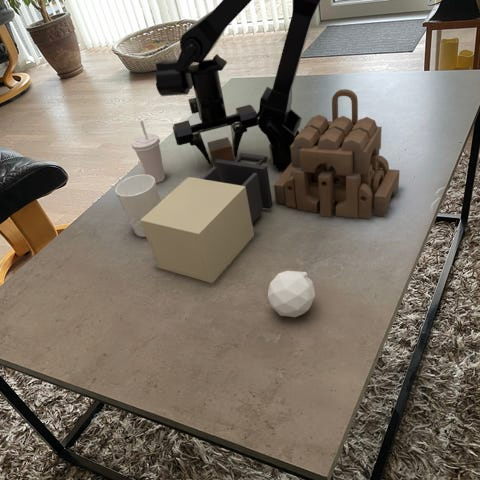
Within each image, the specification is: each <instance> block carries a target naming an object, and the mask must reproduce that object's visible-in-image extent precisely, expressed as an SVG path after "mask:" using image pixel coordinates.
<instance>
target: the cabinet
mask: <svg viewBox="0 0 480 480" xmlns="http://www.w3.org/2000/svg"><path fill="white" fill-rule="evenodd" d="M140 221H141V224H142V227H143V229H144V232H145V235H146V237H145V238H146V240H147V243H148V245H149V248H150V250H151V253H152V256H153V259H154V261H155V263H156V267H157V268H159V269H161V270H165V271H168V272H171V273H175V274H178V275H182V276H185V277H189V278H193V279H195V280H199V281H203V282H205V283H210V284H214V282H216V280H217V279H218V278H219V277H220V276H221V274H222V273H223V272H224V271H225V270H226V269H227V267H228V266H229V265H230V264H231V263H232V262H233V260H234V259H236V257H237V256H238V255H239V254H240V253H241V252H242V250H243V249H244V248H245V247H246V246H247V245H248V243H249V242H250V241H251V240H253V238H254V237H255V232H254V226H253V223H252V221H251V215H250V210H249V204H248V198H247V193H246V187H245V186H240V185H234V184H228V183H222V182H216V181H210V180H204V179H201V178H197V177H192V176H188V177H186V179H184V180H183V181H182V182H180V184H179V185H178V186H176V188H174V189H173V190H172V191H171V192H170V193H169V194H167V196H165V197H164V198H163V199H162V200H161V202H160V203H159V204H158V205H157V206H155V207H154V208H153V209H152V210H151V211H150V212H149V213H148V214H146V215H145V216H144V217H143V218H142V219H141V220H140Z"/></svg>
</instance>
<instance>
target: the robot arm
mask: <svg viewBox="0 0 480 480" xmlns="http://www.w3.org/2000/svg"><path fill="white" fill-rule="evenodd" d="M252 1H253V0H222V1H220V3H219V4H218V5H217V6H216V7H215V8H213V10H211V11H210V12H208V13H207V14H205V15H204V16H202V17H201V18H199V19H198V20H196V21H195V22H194V23H193V24H192V25H191V26H190V27H189V28H188V29H187V30H186V31H185V32H184V33H183V34H182V35H181V37H180V39H179V45H180V46H179V48H180V53H179V56H178V58H177V59H172V60H166V59H160V60H159V61H157V63H156V64H155V67H156V72H155V82H156V83H155V87H156V90H157V93H158V95H160V96H161V97H171V96H173V97H174V96H186V95H189V93H190V90H192V89H193V91H194V96H195V97H192V98H188V104H189V108H190V112H191V114H192V115H195V114H198V117H199V121H201V122H200V123H195V124H191V123H190V121H189V119H187V120H184V121H181V122H177V123H176V122H175V123H174V124H173V126H172V131H173V135H174V139H175V143H176V145H177V146H184V145H187V144H189V145H190V146H191V147H193V146H195V147H196V148H197V149H198V150H199V152H200V153H201V154H202V156H203V157H204V159H205V160H206V162H207V164H208V165H212V162H211V158H210V154H209V151H208V150H207V148H206V145H205V142H204V139H203V136H202V134H201V133H205V132H208V131H213V130H217V129H221V128H224V127H230V132H231V145H232V150H233V155H234V159H237V158H238V154H239V153H238V152H239V148H240V144H241V142H242V141H241V140H242V138H243V135H244V133H246V132H248V129H249V128H254V127H258V128H259V129H260V132H262V133H263V134H264V135H265V136H266V138H267V140H268V142H269V144H268V150H269V156H270V162H271V164H272V166H273V167H275V169H276V171H277V172H283V171H285V170H286V169H287V167H288V166H289V165H290V164H291V162H292V160H291V150H290V146H291V145H292V144H293V142H294V140H295V138H296V136H297V135H298V134H299V133H300V131H299V128H300V126H301V123H302V117H301V116H300V115H299V114H297V112H295V111H294V110H293V109H292V103H293V88H294V83H295V80H296V77H297V73H298V69H299V66H300V64H301V63H300V62H301V59H302V56H303V53H304V49H305V46H306V43H307V40H308V36H309V32H310V30H311V29H310V28H311V25H312V22H313V18H314V16H315V14H316V11H317V9H318V7H319V5H320V3H321V1H322V0H292V14H291V18H290V21H289V25H288V29H287V31H286V32H287V33H286V36H285V40H284V43H283V48H282V51H281V55H280V59H279V63H278V67H277V70H276V75H275V78H274V81H273V86H272V88H270V87H269V86H266V88H265V90H264V92H263V93H262V94H261V96H260V100H259V109H258V111H257V110H256V109H255V107H254V106H253V105H252V104H247V105H243V106H239V107H235V113H233V114H231V115H227V110H226V106H225V105H226V104H225V100H224V94H223V89H222V84H221V79H220V78H221V77H220V73H219V72H220V71H221V72H222V71H223V69H225V67H226V65H227V64H228V61H227V60H226V59H224V58H222V57H221V56H220V55H219V54H218V53H216V54H215V55H214V56H213V58H211V59H209V58H208V59H206V58H207V57H208V56H209V54H210V53H211V52H212V50H213V49H214V48H215V46H216V45H217V43H218V42H219V40H220V39H221V37H222V36H223V34H224V32H225V30H226V29H227V27H228V26H229V25H230V24H231V23H232V22H233V21H234V20H235V19H236V18H237V16H239V14H241V12H242V11H243V10H244V9H245V8H246V7H247V6H248V5H249V4H250V3H252ZM193 63H197V64H193Z"/></svg>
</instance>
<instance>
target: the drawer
mask: <svg viewBox="0 0 480 480" xmlns="http://www.w3.org/2000/svg"><path fill="white" fill-rule="evenodd" d="M268 159H269V157H268V155H262V154H255V153H247V152H239V153H238V155H237V157H236V158H235V159H234V160H235V161H228V160H221V159H217V160H216V161H215V162H214V163H215V167H213V166H212V168H211V169H209V170H208V171H207V172H206V173H205V174H204V175H203V176H202V177H200V179H204V180H210V181H216V182H222V183H228V184H234V185H240V186H245V187H246V193H247V198H248V204H249V210H250V215H251V221H252V224H253V223H254V222H255V221H256V220H257V219H259V217H260V216H261V214H262V213H264V209H266V210H271V209H272V208H273V207H274V206H273V205H274V204H273V198H272V191H271V184H270V183H271V182H270V176H269V169H268V166H267V165H263V164H267V163H268ZM242 161H244V162H242ZM247 162H248V163H247ZM249 162H251V163H249Z"/></svg>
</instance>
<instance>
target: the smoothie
mask: <svg viewBox="0 0 480 480" xmlns="http://www.w3.org/2000/svg"><path fill="white" fill-rule="evenodd" d="M139 123H140V126H141V129H142V132H143V134H142V135H139V136H137V137H135V138H134V139H133V140H132V141H131V148H132V150H133V151H134V152H135V154H136V156H137V158H138V159H139V161H140V163H141V166H142V168H143V170H144V172H145V174H146V175H151V176H153V177H154V179H155V182H156V184H159V183H161V182H164V180H165V178H166V175H165V170H164V163H163V157H162V151H161V146H160V143H161V140H160V137H159V135H158V134H156V133H147V131H146V128H145V124H144V121H143V120H139Z"/></svg>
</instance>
